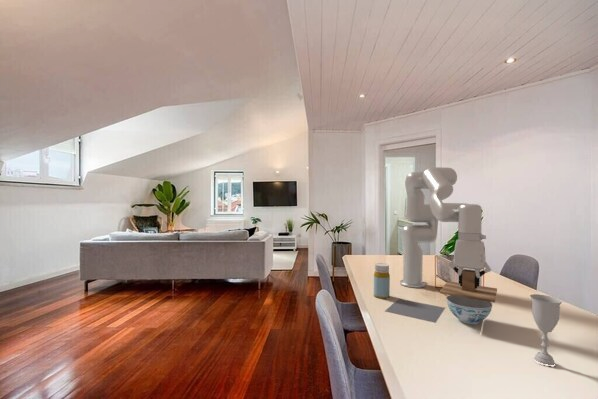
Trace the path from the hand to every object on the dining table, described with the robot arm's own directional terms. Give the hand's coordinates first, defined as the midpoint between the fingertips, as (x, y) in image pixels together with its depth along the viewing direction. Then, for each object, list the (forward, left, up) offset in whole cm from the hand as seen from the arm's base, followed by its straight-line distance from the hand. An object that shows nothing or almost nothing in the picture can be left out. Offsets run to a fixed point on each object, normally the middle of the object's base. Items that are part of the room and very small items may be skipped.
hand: (468, 286), depth 115 cm
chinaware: (0, 0, -13) cm, 13 cm away
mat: (0, -19, -13) cm, 23 cm away
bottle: (-8, -36, -13) cm, 39 cm away
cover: (0, 0, -2) cm, 2 cm away
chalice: (+20, +21, -13) cm, 32 cm away
